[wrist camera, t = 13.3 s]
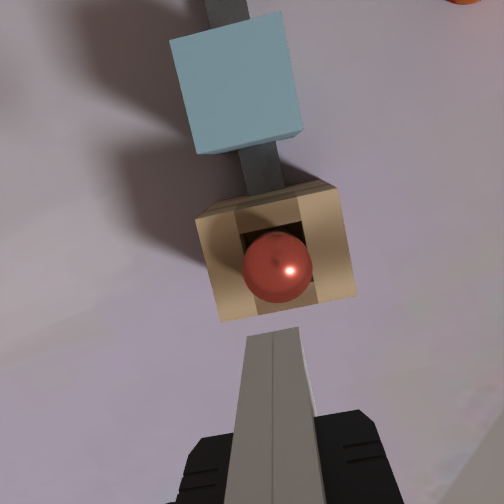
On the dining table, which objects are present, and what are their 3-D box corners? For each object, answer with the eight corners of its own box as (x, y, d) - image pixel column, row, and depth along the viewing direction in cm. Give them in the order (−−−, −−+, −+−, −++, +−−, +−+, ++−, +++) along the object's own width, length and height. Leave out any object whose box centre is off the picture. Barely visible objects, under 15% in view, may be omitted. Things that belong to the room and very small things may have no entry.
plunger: (242, 225, 31) (235, 243, 25) (298, 213, 30) (305, 228, 24) (255, 279, 32) (250, 309, 26) (309, 268, 31) (318, 295, 25)
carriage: (203, 78, 35) (168, 40, 23) (277, 59, 34) (280, 11, 23) (221, 153, 36) (196, 154, 24) (293, 137, 36) (303, 129, 24)
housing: (215, 202, 37) (194, 219, 28) (320, 178, 36) (337, 188, 27) (234, 279, 39) (220, 322, 29) (335, 259, 38) (357, 295, 28)
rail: (176, -128, 32) (170, -147, 30) (216, -140, 32) (212, -159, 30) (249, 194, 37) (248, 196, 35) (284, 186, 37) (285, 188, 35)
